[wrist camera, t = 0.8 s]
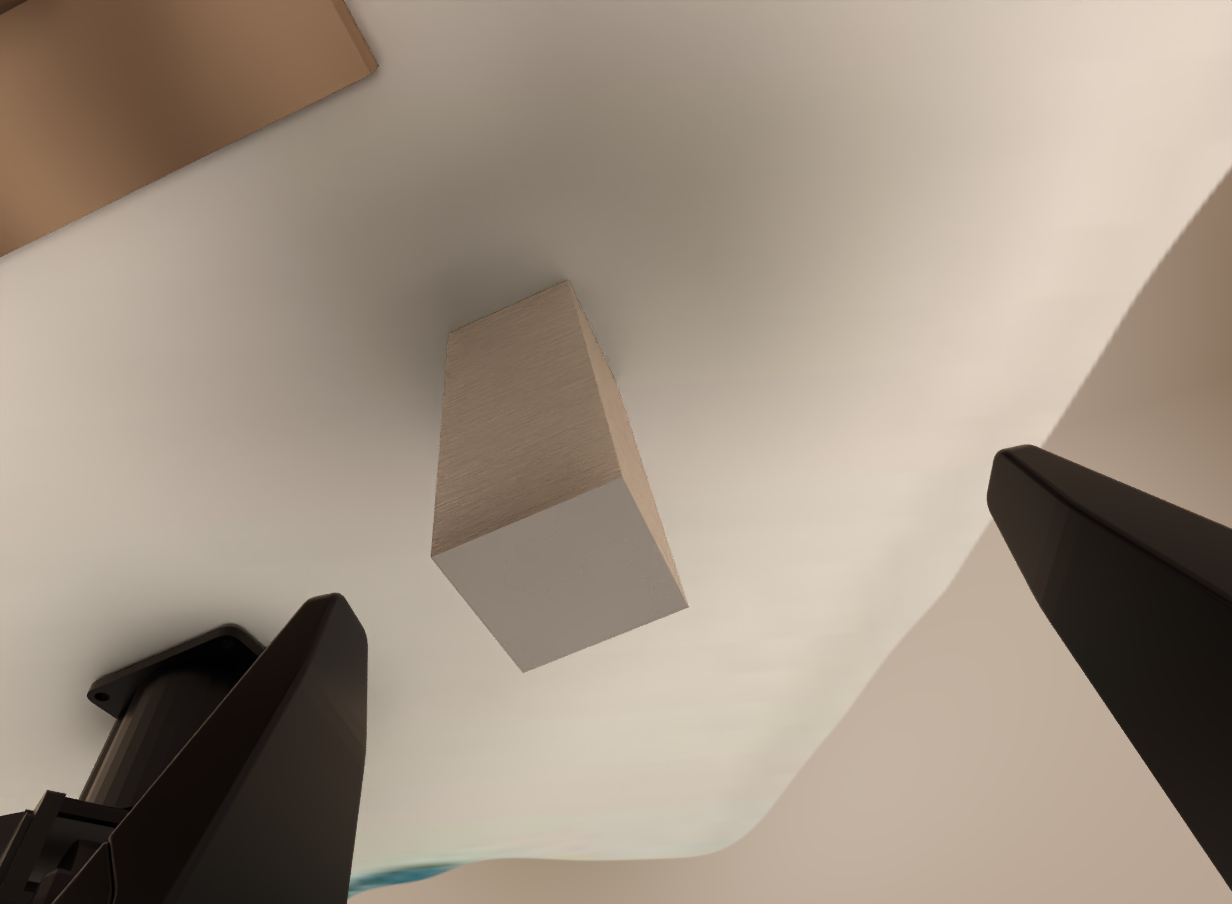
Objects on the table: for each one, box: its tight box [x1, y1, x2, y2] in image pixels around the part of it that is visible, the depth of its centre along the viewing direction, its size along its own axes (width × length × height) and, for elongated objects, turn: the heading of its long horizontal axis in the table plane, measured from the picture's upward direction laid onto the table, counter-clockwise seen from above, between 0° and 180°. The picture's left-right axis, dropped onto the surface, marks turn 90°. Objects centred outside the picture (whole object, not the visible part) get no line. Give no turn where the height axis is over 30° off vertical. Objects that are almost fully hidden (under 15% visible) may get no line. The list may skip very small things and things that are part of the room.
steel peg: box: [431, 280, 689, 673], centre depth 19 cm, size 4×4×10 cm
